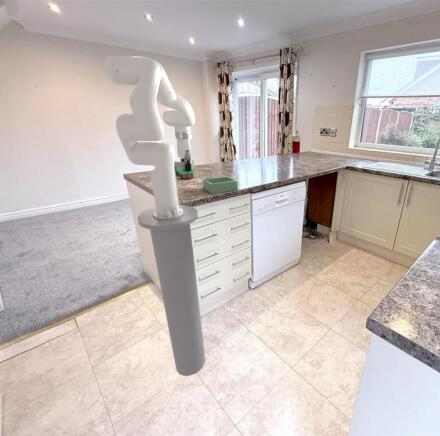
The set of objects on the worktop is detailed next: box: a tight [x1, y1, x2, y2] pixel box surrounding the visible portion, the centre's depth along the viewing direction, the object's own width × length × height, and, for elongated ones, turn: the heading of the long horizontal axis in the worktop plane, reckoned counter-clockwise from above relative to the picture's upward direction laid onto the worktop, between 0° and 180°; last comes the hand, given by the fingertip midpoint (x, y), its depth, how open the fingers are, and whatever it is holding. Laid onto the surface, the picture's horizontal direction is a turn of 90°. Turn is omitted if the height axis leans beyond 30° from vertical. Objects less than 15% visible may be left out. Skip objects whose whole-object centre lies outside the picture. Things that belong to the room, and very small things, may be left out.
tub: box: [202, 175, 239, 195], centre depth 148 cm, size 13×17×6 cm
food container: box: [174, 159, 196, 181], centre depth 135 cm, size 12×6×10 cm, turn 137°
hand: (186, 169), depth 135 cm, fingers closed on food container, 6 cm apart
